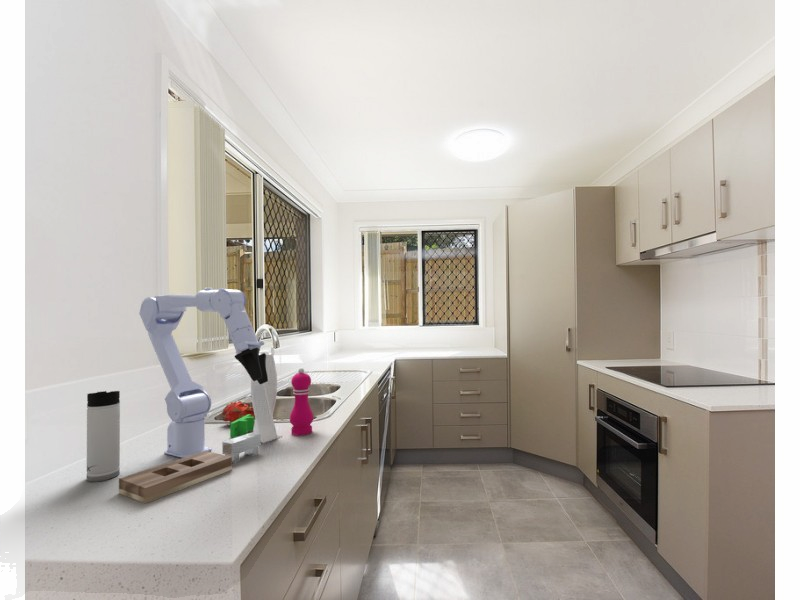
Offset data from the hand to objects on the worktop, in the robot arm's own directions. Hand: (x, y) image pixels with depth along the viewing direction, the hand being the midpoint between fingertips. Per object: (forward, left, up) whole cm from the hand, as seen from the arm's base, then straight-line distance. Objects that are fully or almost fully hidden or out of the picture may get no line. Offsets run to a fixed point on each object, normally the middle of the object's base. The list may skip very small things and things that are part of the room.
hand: (261, 381), depth 103 cm
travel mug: (-27, -23, -21) cm, 41 cm away
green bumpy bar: (-27, +17, -21) cm, 38 cm away
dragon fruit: (-37, +23, -21) cm, 48 cm away
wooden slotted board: (-9, -16, -20) cm, 27 cm away
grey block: (-9, +1, -20) cm, 22 cm away
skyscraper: (-16, +15, -21) cm, 30 cm away
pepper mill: (-11, +25, -21) cm, 34 cm away
